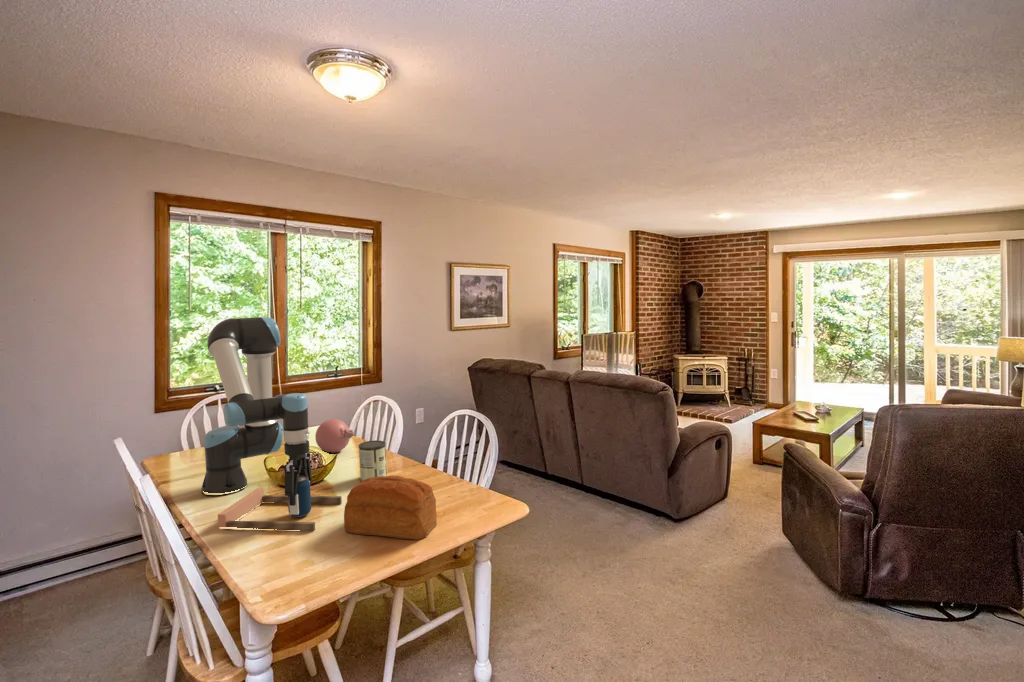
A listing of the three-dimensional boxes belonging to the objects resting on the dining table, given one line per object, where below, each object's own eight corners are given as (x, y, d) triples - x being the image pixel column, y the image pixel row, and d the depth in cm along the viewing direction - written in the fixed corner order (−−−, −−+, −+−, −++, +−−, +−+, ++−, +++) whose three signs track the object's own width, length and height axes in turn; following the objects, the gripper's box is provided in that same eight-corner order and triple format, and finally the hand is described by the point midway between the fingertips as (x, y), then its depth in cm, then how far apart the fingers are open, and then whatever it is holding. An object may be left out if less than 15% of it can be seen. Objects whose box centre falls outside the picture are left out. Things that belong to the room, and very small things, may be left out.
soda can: (311, 508, 178) (309, 473, 177) (311, 516, 172) (309, 480, 171) (289, 511, 176) (287, 476, 175) (288, 519, 169) (286, 483, 168)
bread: (421, 544, 153) (419, 491, 152) (338, 535, 159) (336, 484, 158) (441, 520, 169) (440, 472, 167) (365, 514, 175) (363, 467, 174)
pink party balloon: (341, 460, 233) (339, 426, 232) (308, 454, 242) (307, 421, 241) (365, 450, 247) (364, 418, 245) (333, 445, 256) (332, 414, 254)
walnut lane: (226, 530, 164) (225, 522, 164) (264, 502, 186) (264, 495, 186) (313, 531, 162) (313, 523, 162) (341, 503, 184) (341, 496, 184)
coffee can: (365, 474, 214) (364, 440, 213) (390, 474, 213) (389, 440, 212) (355, 482, 204) (354, 447, 203) (381, 483, 203) (380, 447, 202)
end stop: (218, 530, 164) (217, 514, 164) (257, 501, 186) (257, 488, 186) (226, 530, 164) (225, 514, 163) (264, 502, 186) (263, 488, 186)
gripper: (293, 450, 162) (296, 522, 164) (320, 433, 181) (323, 497, 183) (269, 450, 162) (273, 522, 164) (299, 433, 182) (302, 497, 184)
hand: (299, 509), depth 174 cm, fingers closed on soda can, 7 cm apart
